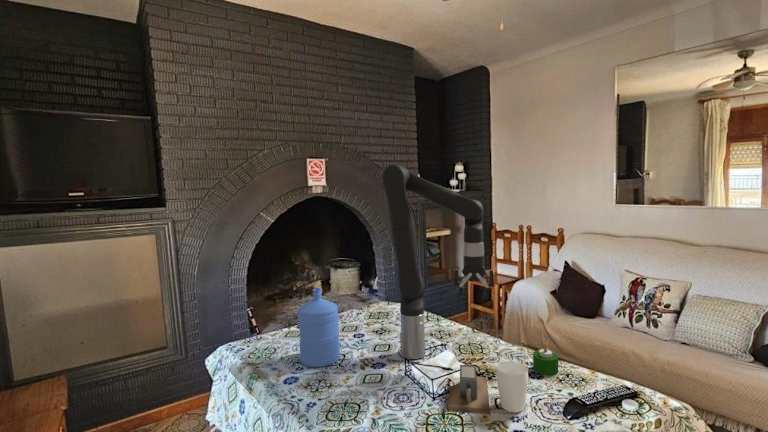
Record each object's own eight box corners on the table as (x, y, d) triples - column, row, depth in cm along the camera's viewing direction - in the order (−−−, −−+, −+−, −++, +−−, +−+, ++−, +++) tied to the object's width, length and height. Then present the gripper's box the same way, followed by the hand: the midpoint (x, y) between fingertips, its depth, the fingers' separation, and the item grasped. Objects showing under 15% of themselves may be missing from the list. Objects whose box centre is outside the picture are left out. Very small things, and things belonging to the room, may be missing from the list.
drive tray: (448, 409, 115) (448, 392, 115) (450, 378, 134) (450, 363, 133) (490, 413, 113) (489, 396, 112) (486, 380, 131) (486, 365, 131)
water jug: (348, 357, 153) (345, 288, 150) (316, 372, 141) (312, 297, 139) (323, 347, 163) (320, 282, 161) (292, 360, 152) (288, 290, 150)
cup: (492, 399, 120) (491, 362, 119) (520, 397, 120) (520, 360, 119) (503, 416, 111) (503, 376, 110) (534, 414, 111) (533, 374, 110)
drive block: (460, 398, 119) (460, 379, 118) (460, 382, 128) (460, 364, 128) (477, 399, 118) (476, 380, 117) (475, 383, 127) (475, 365, 127)
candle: (557, 366, 140) (557, 339, 139) (559, 377, 132) (559, 348, 131) (532, 363, 142) (532, 337, 142) (533, 374, 134) (533, 346, 134)
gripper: (453, 255, 141) (454, 299, 142) (494, 256, 137) (494, 300, 139) (454, 252, 148) (455, 293, 149) (493, 252, 145) (493, 294, 146)
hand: (474, 296), depth 144 cm, fingers open, 8 cm apart
